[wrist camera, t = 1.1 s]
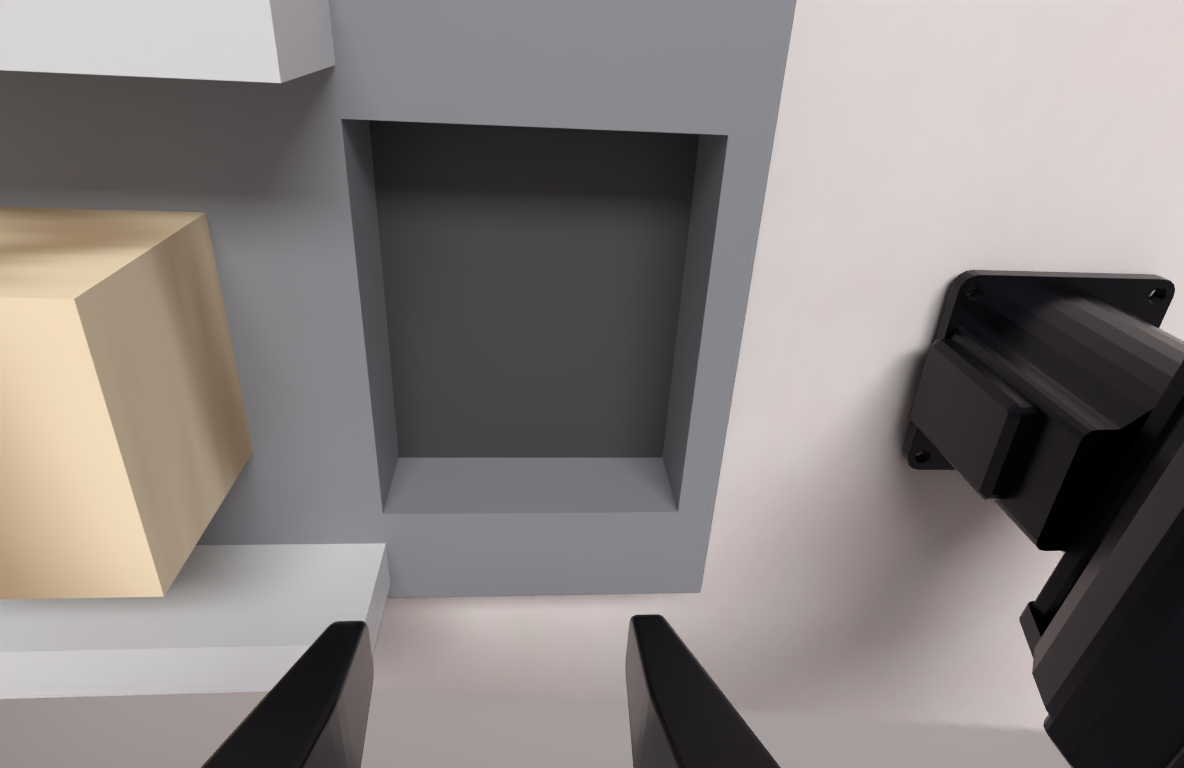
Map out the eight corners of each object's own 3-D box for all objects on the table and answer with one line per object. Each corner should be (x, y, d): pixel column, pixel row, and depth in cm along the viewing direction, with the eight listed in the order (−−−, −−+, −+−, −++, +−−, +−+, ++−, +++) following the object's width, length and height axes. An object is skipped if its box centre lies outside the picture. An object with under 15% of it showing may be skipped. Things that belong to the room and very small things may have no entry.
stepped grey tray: (757, -21, 17) (876, -31, 11) (681, 527, 24) (728, 692, 18) (-944, -127, 14) (-2010, -218, 8) (-429, 537, 21) (-786, 737, 15)
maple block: (205, 212, 15) (73, 298, 11) (253, 451, 18) (164, 597, 14) (-103, 203, 15) (-373, 290, 10) (-4, 450, 17) (-183, 602, 13)
